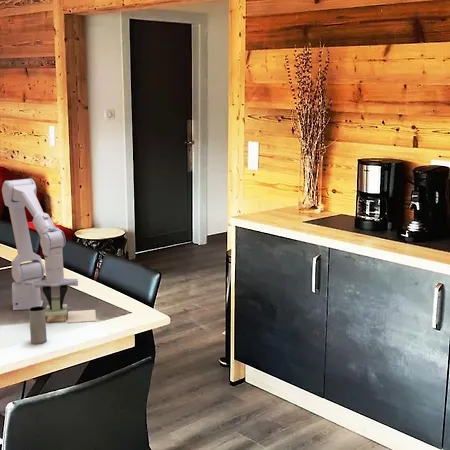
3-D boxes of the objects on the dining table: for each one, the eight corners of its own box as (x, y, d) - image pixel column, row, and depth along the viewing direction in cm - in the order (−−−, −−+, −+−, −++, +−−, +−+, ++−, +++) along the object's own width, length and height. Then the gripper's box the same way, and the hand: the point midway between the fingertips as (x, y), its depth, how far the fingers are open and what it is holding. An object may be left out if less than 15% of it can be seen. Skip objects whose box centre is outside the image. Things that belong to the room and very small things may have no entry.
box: (46, 323, 216) (46, 315, 216) (48, 315, 224) (47, 307, 224) (66, 321, 218) (65, 314, 217) (66, 313, 225) (66, 306, 225)
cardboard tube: (32, 338, 203) (30, 306, 201) (47, 338, 203) (46, 305, 201) (29, 344, 198) (27, 311, 196) (45, 344, 199) (43, 310, 197)
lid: (45, 317, 216) (44, 303, 215) (46, 309, 224) (46, 295, 223) (66, 316, 217) (65, 301, 216) (67, 308, 225) (66, 294, 224)
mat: (67, 323, 216) (67, 322, 216) (68, 312, 227) (68, 311, 227) (95, 321, 218) (95, 320, 218) (95, 310, 229) (95, 309, 228)
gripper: (30, 272, 212) (32, 313, 215) (77, 269, 215) (78, 310, 218) (31, 266, 219) (34, 306, 222) (77, 264, 222) (79, 303, 224)
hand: (56, 307), depth 220 cm, fingers closed on lid, 3 cm apart
